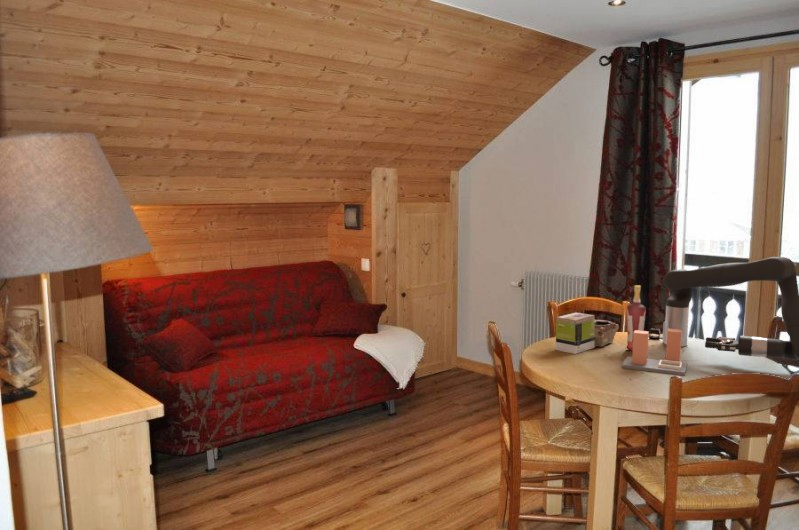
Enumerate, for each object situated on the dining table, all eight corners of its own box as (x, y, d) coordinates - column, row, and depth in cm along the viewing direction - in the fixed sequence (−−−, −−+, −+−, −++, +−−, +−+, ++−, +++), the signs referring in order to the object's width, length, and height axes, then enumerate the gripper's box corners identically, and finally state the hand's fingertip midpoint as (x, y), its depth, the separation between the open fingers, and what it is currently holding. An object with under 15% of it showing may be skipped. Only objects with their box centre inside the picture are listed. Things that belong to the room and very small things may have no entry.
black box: (671, 339, 292) (671, 329, 291) (668, 343, 285) (668, 332, 285) (641, 336, 299) (641, 326, 298) (637, 339, 292) (638, 329, 291)
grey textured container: (573, 343, 282) (574, 322, 281) (597, 336, 295) (597, 316, 294) (600, 349, 272) (601, 327, 271) (623, 341, 286) (624, 320, 285)
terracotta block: (665, 360, 254) (667, 331, 253) (666, 357, 259) (668, 328, 257) (679, 361, 252) (681, 332, 251) (680, 358, 256) (681, 329, 255)
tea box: (574, 344, 281) (575, 311, 279) (594, 348, 273) (596, 314, 271) (554, 350, 271) (555, 316, 269) (574, 354, 263) (576, 319, 262)
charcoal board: (622, 367, 243) (623, 334, 242) (627, 359, 256) (628, 327, 254) (684, 375, 233) (686, 340, 232) (686, 366, 246) (688, 332, 244)
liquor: (643, 353, 264) (646, 287, 261) (625, 352, 267) (627, 286, 264) (644, 349, 271) (646, 285, 268) (625, 348, 274) (628, 284, 270)
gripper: (752, 333, 248) (706, 329, 255) (753, 340, 235) (705, 336, 242) (751, 351, 248) (705, 347, 256) (752, 360, 236) (704, 355, 243)
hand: (705, 342), depth 249 cm, fingers open, 8 cm apart
